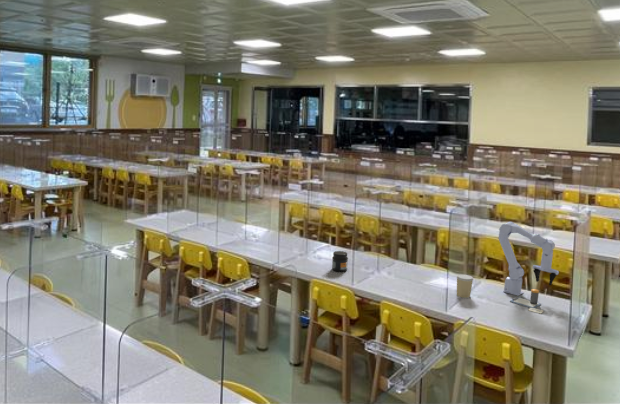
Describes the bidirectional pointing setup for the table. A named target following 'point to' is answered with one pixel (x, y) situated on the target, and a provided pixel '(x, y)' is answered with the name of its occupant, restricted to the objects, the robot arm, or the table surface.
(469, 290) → the coffee cup
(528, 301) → the clipboard
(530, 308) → the word card
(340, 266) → the supplement container
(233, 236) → the table surface
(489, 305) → the table surface
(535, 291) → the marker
